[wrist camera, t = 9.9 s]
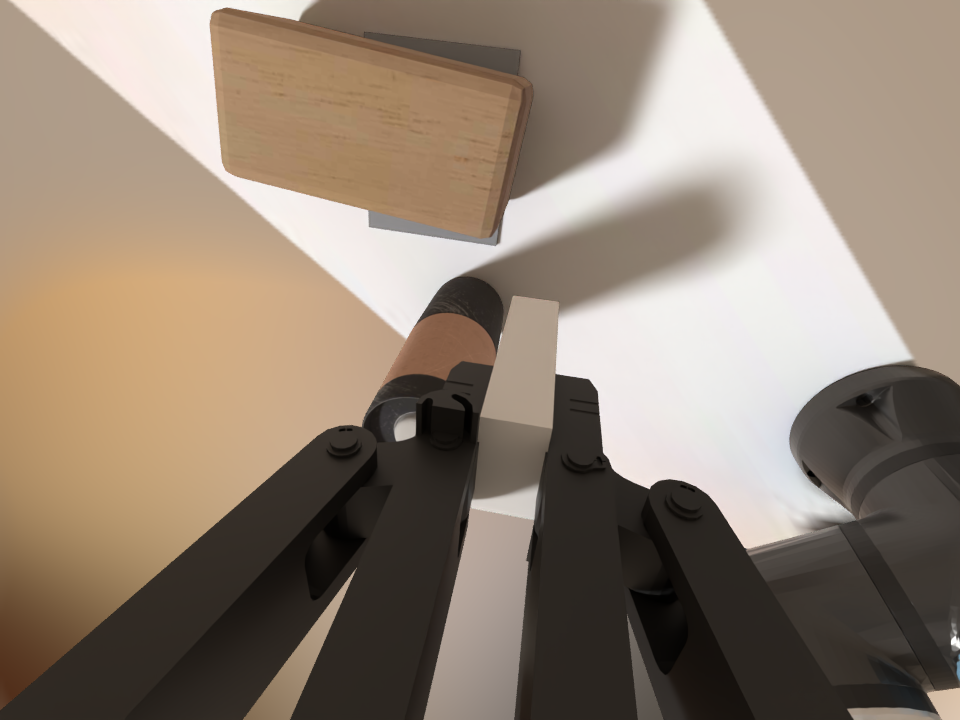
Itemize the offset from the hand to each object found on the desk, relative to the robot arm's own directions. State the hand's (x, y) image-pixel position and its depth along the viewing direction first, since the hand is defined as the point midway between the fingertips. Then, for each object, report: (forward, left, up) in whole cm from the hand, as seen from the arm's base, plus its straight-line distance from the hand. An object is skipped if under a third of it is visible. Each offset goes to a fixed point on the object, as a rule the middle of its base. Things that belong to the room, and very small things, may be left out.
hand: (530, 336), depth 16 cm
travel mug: (+6, +13, -28) cm, 32 cm away
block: (+2, -2, -23) cm, 23 cm away
